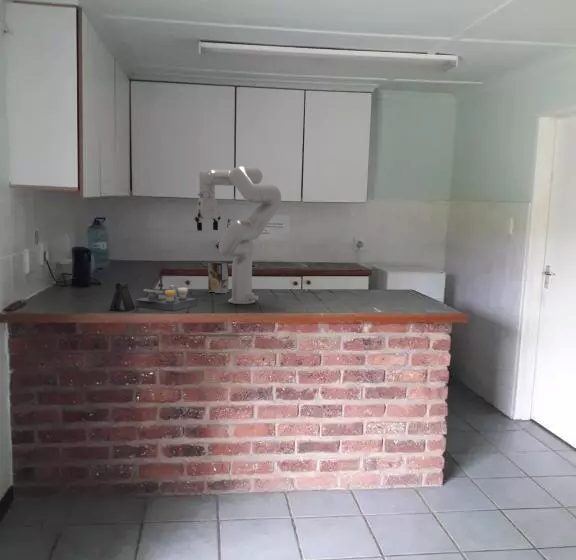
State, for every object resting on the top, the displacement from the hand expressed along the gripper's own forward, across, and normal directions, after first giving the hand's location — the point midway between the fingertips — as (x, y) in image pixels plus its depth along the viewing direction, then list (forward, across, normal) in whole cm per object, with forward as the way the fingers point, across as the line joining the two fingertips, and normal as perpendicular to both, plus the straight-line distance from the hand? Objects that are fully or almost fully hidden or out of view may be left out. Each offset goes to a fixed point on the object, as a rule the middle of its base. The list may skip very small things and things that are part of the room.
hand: (207, 230), depth 296 cm
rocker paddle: (+28, -34, -4) cm, 44 cm away
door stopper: (+33, -52, -7) cm, 62 cm away
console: (+33, -32, -11) cm, 47 cm away
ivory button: (+30, -26, -15) cm, 43 cm away
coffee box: (+33, +10, +4) cm, 35 cm away
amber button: (+31, -34, -18) cm, 49 cm away
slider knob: (+30, -27, -8) cm, 41 cm away
